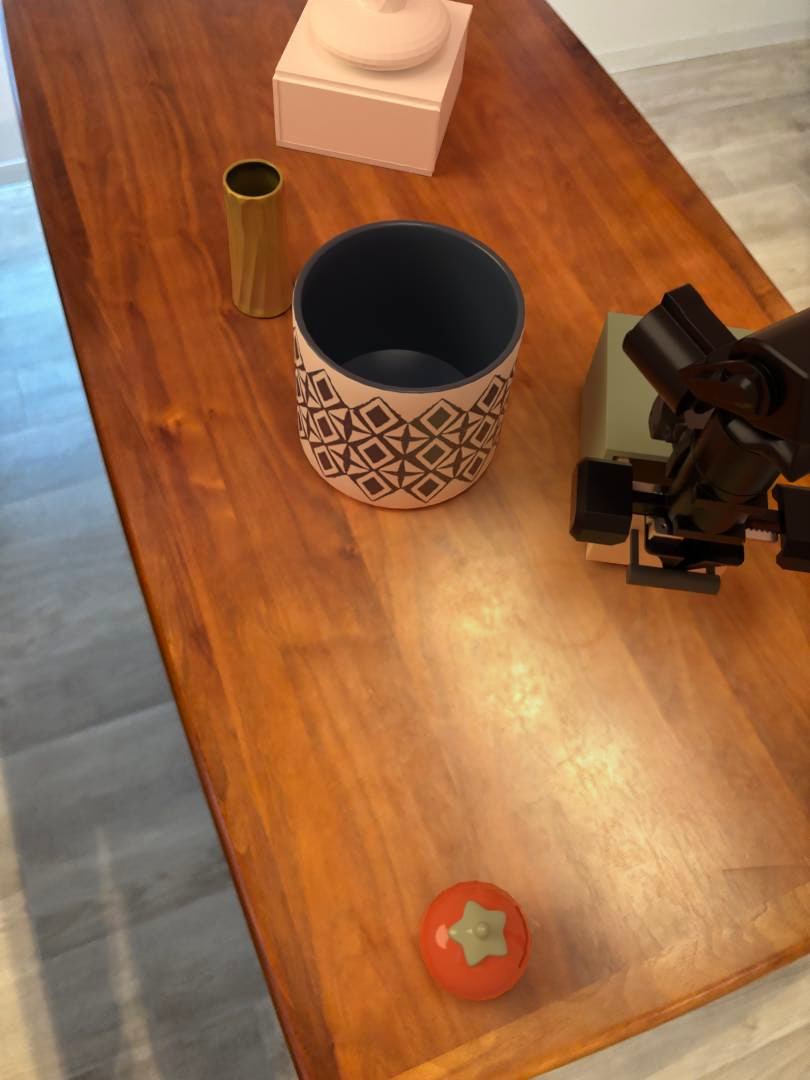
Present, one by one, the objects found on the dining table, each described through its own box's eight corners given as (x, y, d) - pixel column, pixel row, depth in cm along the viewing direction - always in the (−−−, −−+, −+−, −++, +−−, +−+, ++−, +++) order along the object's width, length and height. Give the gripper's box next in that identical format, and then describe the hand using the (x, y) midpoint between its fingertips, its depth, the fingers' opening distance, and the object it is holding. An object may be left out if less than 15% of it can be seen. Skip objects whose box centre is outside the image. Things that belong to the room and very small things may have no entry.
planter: (294, 354, 95) (288, 219, 81) (483, 349, 97) (509, 216, 83) (302, 517, 86) (295, 398, 72) (510, 508, 88) (544, 389, 74)
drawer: (722, 628, 82) (762, 577, 75) (584, 610, 82) (609, 557, 75) (713, 447, 92) (747, 386, 84) (589, 431, 92) (611, 369, 84)
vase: (224, 282, 100) (208, 163, 87) (282, 267, 101) (275, 147, 89) (244, 326, 97) (230, 209, 85) (303, 309, 98) (299, 192, 86)
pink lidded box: (276, 146, 110) (268, 6, 96) (319, 49, 119) (317, -91, 106) (432, 177, 109) (446, 40, 95) (464, 77, 118) (480, -61, 104)
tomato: (524, 1008, 68) (546, 994, 61) (414, 1006, 68) (423, 992, 61) (519, 893, 72) (539, 868, 65) (415, 891, 71) (423, 866, 64)
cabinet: (721, 537, 88) (765, 469, 79) (578, 519, 88) (606, 448, 79) (713, 406, 95) (754, 329, 86) (582, 389, 95) (607, 311, 86)
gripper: (863, 382, 71) (776, 497, 84) (599, 346, 71) (555, 466, 84) (880, 518, 65) (784, 617, 79) (595, 478, 65) (549, 585, 79)
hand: (666, 566), depth 80 cm, fingers closed, pressing on drawer
